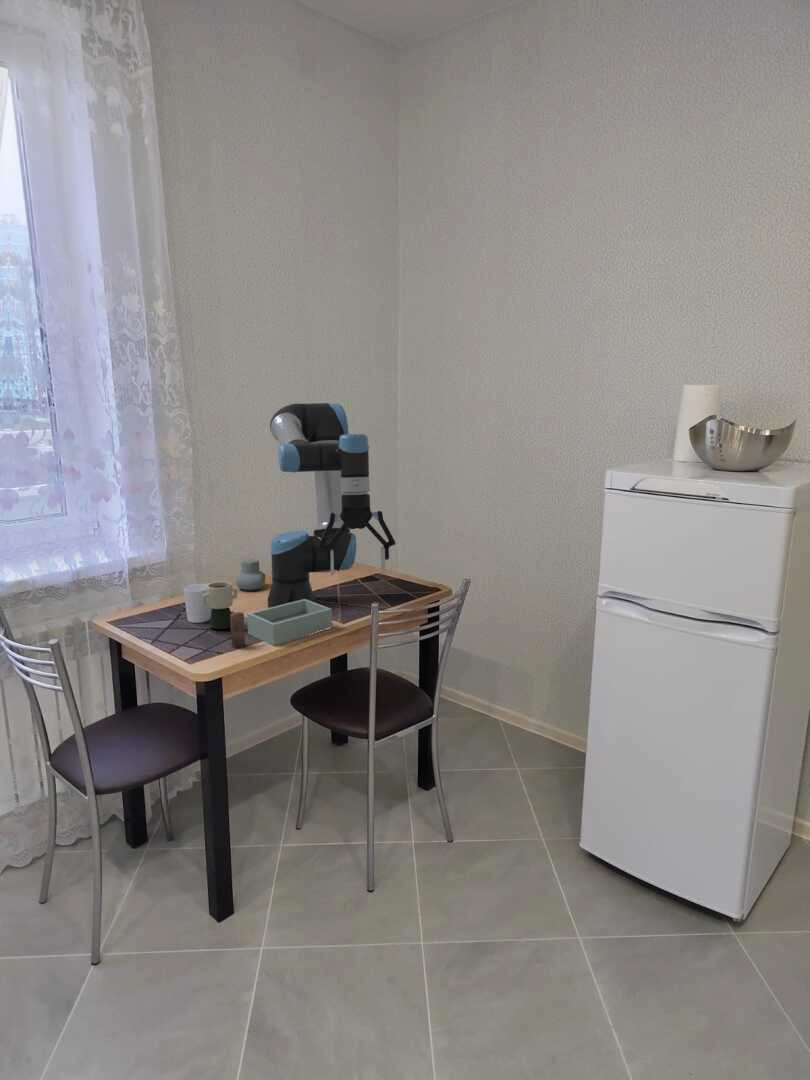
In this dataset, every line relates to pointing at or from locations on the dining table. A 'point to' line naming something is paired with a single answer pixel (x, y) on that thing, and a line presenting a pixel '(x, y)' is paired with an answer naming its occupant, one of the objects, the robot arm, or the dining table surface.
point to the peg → (237, 630)
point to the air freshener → (250, 575)
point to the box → (288, 621)
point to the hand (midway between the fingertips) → (358, 573)
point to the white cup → (196, 603)
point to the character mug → (219, 603)
